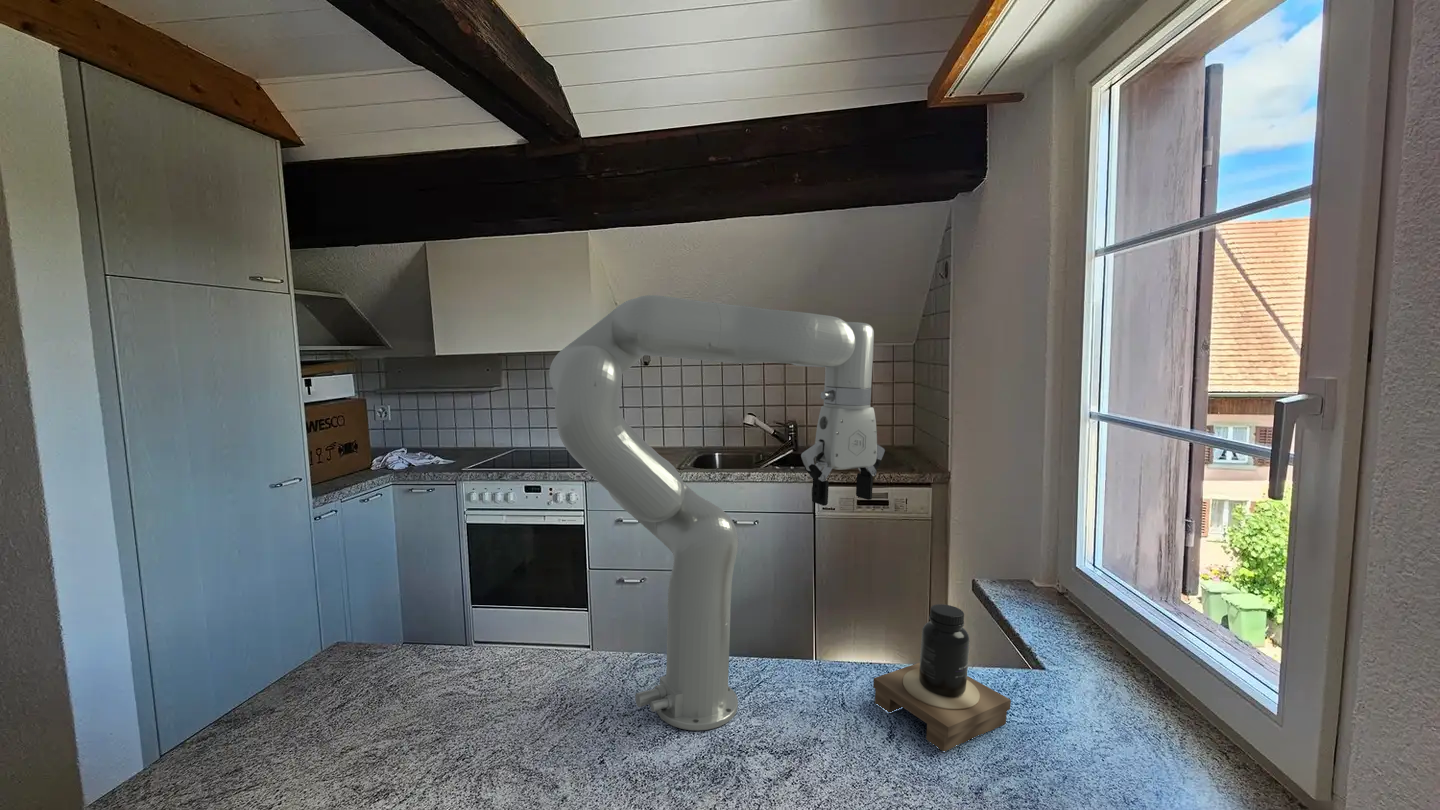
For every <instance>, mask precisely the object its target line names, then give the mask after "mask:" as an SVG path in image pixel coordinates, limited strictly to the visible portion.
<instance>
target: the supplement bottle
mask: <svg viewBox="0 0 1440 810" xmlns="http://www.w3.org/2000/svg"><path fill="white" fill-rule="evenodd" d="M928 616H929V617H928V619H929V621H928V622H926V623H925V624H924V625H923V627H922V630H921V641H920V642H921V643H920V656H919V657H920V659H919V662H920V669H919V680H920V683H921V685H922V686H923V687H924V688H925V689H927V690H928V691H930V692H932V693H934V694H937V695H940V696H945V697H957V696H960V695H962V694H963V693H964V692H965V690H966V682H967V676H968V667H969V655H970V654H969V653H970V643H971V642H970V640H971V639H970V635H969V633H968V631H967V630H966V629H965V628H964V627H965V613H964V611H963V610H962V609H961V608H958V607H956V606H954V605H951V604H950V605H948V604H942V603H940V604H939V603H937V604H934V605H932V606H930V611H929V615H928Z"/></svg>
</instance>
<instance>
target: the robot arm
mask: <svg viewBox="0 0 1440 810" xmlns="http://www.w3.org/2000/svg"><path fill="white" fill-rule="evenodd" d="M874 340H875V332H874V328H873V326H872V325H870V324H869V323H866V322H857V321H855V322H854V321H845V320H843V319H842V318H840V317H837V316H832V315H825V314H818V313H812V312H804V311H793V310H781V309H771V308H770V309H769V308H763V307H761V308H760V307H754V306H750V305H749V306H747V305H738V304H737V305H736V304H728V303H719V302H713V301H712V302H711V301H705V300H704V301H702V300H695V299H688V298H680V297H674V296H673V297H672V296H666V295H665V296H664V295H658V294H657V295H655V294H652V295H651V294H650V295H649V294H648V295H641V296H638V297H635V298H632V299H628V300H626V301H624V302H622V303H621V304H619V305H618V306H617V307H616V308H614V309H613V310H612V311H610V312H609V313H608V314H607V315H605V316H604V317H603V318H602V319H600V320H599V321H598V322H597V323H596V324H594V325H592V326H591V327H590V328H588V330H586V331H585V332H583V333H582V334H581V335H579V336H578V337H577V338H575V339H574V340H572V342H571V343H569V344H567V345H566V346H564V348H562V349H561V350H560V351H559V352H558V353H557V354H556V355H555V357H554V358H553V359H552V361H551V364H550V366H549V370H548V372H549V374H548V375H549V376H548V377H549V378H548V379H549V384H550V385H551V388H552V390H553V391H554V392H555V393H556V395H555V401H554V402H555V403H554V416H555V423H556V429H557V432H558V435H559V438H560V441H561V442H562V445H563V446H564V447H565V449H566V451H567V452H568V453H569V454H570V455H571V457H572V458H573V459H574V460H575V461H576V462H577V463H578V464H579V465H580V466H581V467H582V468H583V469H584V470H585V471H586V472H587V473H588V474H590V475H591V476H592V477H593V479H595V481H597V482H598V483H599V484H600V485H601V486H602V487H603V488H604V489H605V490H607V492H608V494H609V495H610V497H611V498H612V499H613V500H614V502H616V503H617V504H618V505H619V506H620V507H621V508H622V509H623V510H624V511H625V512H626V513H628V514H629V515H631V517H632V518H634V519H635V520H636V521H637V522H638V523H640V524H641V525H642V526H643V527H644V528H646V529H647V530H648V531H649V532H650V533H651V534H652V535H654V536H655V538H657V539H658V540H659V541H660V542H661V543H662V544H663V545H664V546H665V547H666V548H667V549H669V551H670V552H671V553H672V555H673V564H672V569H671V573H670V576H669V577H670V578H669V581H668V593H667V629H666V630H667V631H666V632H667V633H666V669H665V671H666V672H665V675H663V676H660V677H659V684H658V685H655V686H654V688H652V689H649V690H648V689H647V690H644V691H641V692H637V693H635V697H634V698H635V703H636V706H637V707H638V708H641V707H644V706H648V705H649V706H650V710H651V712H652V713H654V712H656V713H657V715H658V717H659V718H660V719H661V720H663V722H665V723H667V724H668V725H670V726H671V727H674V728H678V729H682V730H687V731H698V732H699V731H707V730H712V729H716V728H718V727H719V728H720V727H721V726H723V725H725V724H727V723H728V722H730V721H731V720H732V719H733V718H734V717H735V716H736V714H737V711H738V706H739V705H738V703H739V701H738V700H739V699H738V696H737V693H736V692H735V691H734V690H733V689H732V688H731V687H730V686H729V668H730V667H729V666H730V665H729V664H730V639H731V638H730V637H731V636H730V635H731V631H730V630H731V609H732V608H731V606H732V602H731V601H732V584H733V576H734V569H735V565H736V561H737V556H738V555H737V554H738V552H739V551H738V549H739V535H738V530H737V527H736V525H735V522H734V521H733V520H732V519H731V517H730V516H729V514H728V513H726V512H725V511H724V510H723V509H722V508H720V507H719V506H717V505H716V504H714V503H712V502H711V501H709V500H708V499H705V498H703V497H701V496H700V495H699V494H697V493H696V492H695V491H694V490H692V488H691V487H689V485H687V484H686V482H684V481H683V479H682V476H681V474H680V472H679V471H678V470H677V469H676V467H675V466H674V465H673V464H672V463H671V462H670V461H669V460H668V459H666V458H665V457H663V456H662V455H661V454H659V453H658V451H656V450H655V449H654V448H653V447H652V446H651V445H650V444H649V443H647V442H646V441H645V440H644V439H643V438H642V437H641V436H640V435H639V433H637V431H635V429H634V428H633V427H632V426H631V425H630V424H629V423H628V422H627V421H626V420H625V418H624V416H623V415H622V412H621V408H620V402H619V401H620V394H621V389H622V385H623V374H624V373H625V372H627V371H628V370H630V368H631V367H632V366H634V365H635V364H636V363H637V362H639V361H640V360H641V359H642V358H643V357H644V356H651V357H661V358H671V359H672V358H673V359H685V360H697V361H708V362H719V363H733V364H755V363H756V364H757V363H773V364H774V363H777V364H789V365H790V364H791V365H794V366H797V367H810V368H811V367H813V368H814V367H815V368H824V369H825V371H824V391H821V392H820V399H821V400H823V405H821V407H820V410H819V413H818V414H819V415H818V420H817V424H816V430H815V431H816V432H815V440H814V444H813V445H812V446H810V447H809V448H807V449H806V450H804V451H803V452H802V453H801V454H800V457H801V460H802V463H803V466H804V470H805V471H806V472H807V474H809V478H810V479H812V486H811V487H812V490H811V502H812V503H815V504H818V505H820V506H824V507H825V506H828V505H829V504H828V503H829V484H830V483H829V481H828V480H826V479H827V478H828V476H829V475H830V474H831V472H832V470H833V469H834V470H839V471H840V470H851V469H858V471H859V472H858V473H857V474H856V484H855V485H856V487H855V495H856V496H857V497H858V498H861V499H864V500H872V498H873V488H874V487H873V485H874V484H873V483H874V477H875V476H876V475H877V470H878V469H879V467H880V466H881V463H882V459H883V457H884V454H885V451H886V450H885V448H884V447H883V446H881V445H879V444H878V435H877V434H878V433H877V432H878V430H877V420H876V413H875V409H874V407H873V406H871V400H872V379H873V363H874V361H873V360H874V359H873V358H874V346H875V345H874V342H875V341H874Z"/></svg>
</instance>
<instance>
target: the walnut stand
mask: <svg viewBox="0 0 1440 810" xmlns="http://www.w3.org/2000/svg"><path fill="white" fill-rule="evenodd" d="M919 669H920V661H919V662H916V663H914V664H911V665H908V666H905V667H903V668H902V667H901V668H899V669H897V670H894V671H891V672H888V673H885V674H881V675H879V676H876V677H873V680H872V681H873V685H872V686H873V687H872V688H873V689H875V693H874V704H875V703H876V704H878V705H879V706H881V707H882V708H884V709H885V710H887V711H888V712H892V711H894V710H896V709H899V708H901V707H903V708H904V710H906V711H908V712H909V713H910V714H911V715H913V716H915V717H916V718H918V719H919V720H921V721H922V722H924V723H925V724H926V737H925V738H926V739H927V740H928V741H929V742H931V743H932V744H934V745H935V746H937V747H938V748H939V749H940V750H942V751H947V750H949V749H951V748H953V747H955V746H956V745H959V744H961V743H964V742H966V741H968V740H970V739H972V738H974V737H976V736H978V735H981V734H983V735H985V734H987V733H989V732H991V731H993V730H996V729H998V728H999V727H1002V726H1004V725H1006V724H1007V716H1008V715H1007V712H1008V711H1010V710H1011V706H1012V705H1011V703H1012V702H1011V701H1012V700H1011V699H1010V698H1009V697H1007V696H1004V695H1003V694H1001V693H999V692H998V691H996V690H994V689H992V688H990V687H988V686H987V685H984V684H983V683H981V682H979V681H978V680H976V679H974V678H972V677H970V676H968V675H967V682H966V690H965V692H964V693H963V694H962V695H960V696H957V697H945V696H940V695H937V694H934V693H932V692H930V691H928V690H927V689H925V688H924V687H923V686H922V685H921V683H920V680H919ZM995 728H996V729H995ZM988 731H989V732H988ZM986 732H987V733H986ZM984 733H985V734H984ZM981 736H982V735H981ZM976 738H977V737H976ZM974 739H975V738H974ZM972 740H973V739H972ZM928 741H927V742H928ZM970 741H971V740H970ZM929 742H928V743H929ZM968 742H969V741H968ZM966 743H967V742H966ZM932 744H931V745H932ZM964 744H965V743H964ZM935 746H934V747H935ZM959 746H960V745H959ZM955 748H956V747H955ZM939 749H938V750H939ZM953 749H954V748H953ZM940 750H939V751H940ZM951 750H952V749H951ZM942 751H941V752H942ZM949 751H950V750H949ZM947 752H948V751H947Z"/></svg>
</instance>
